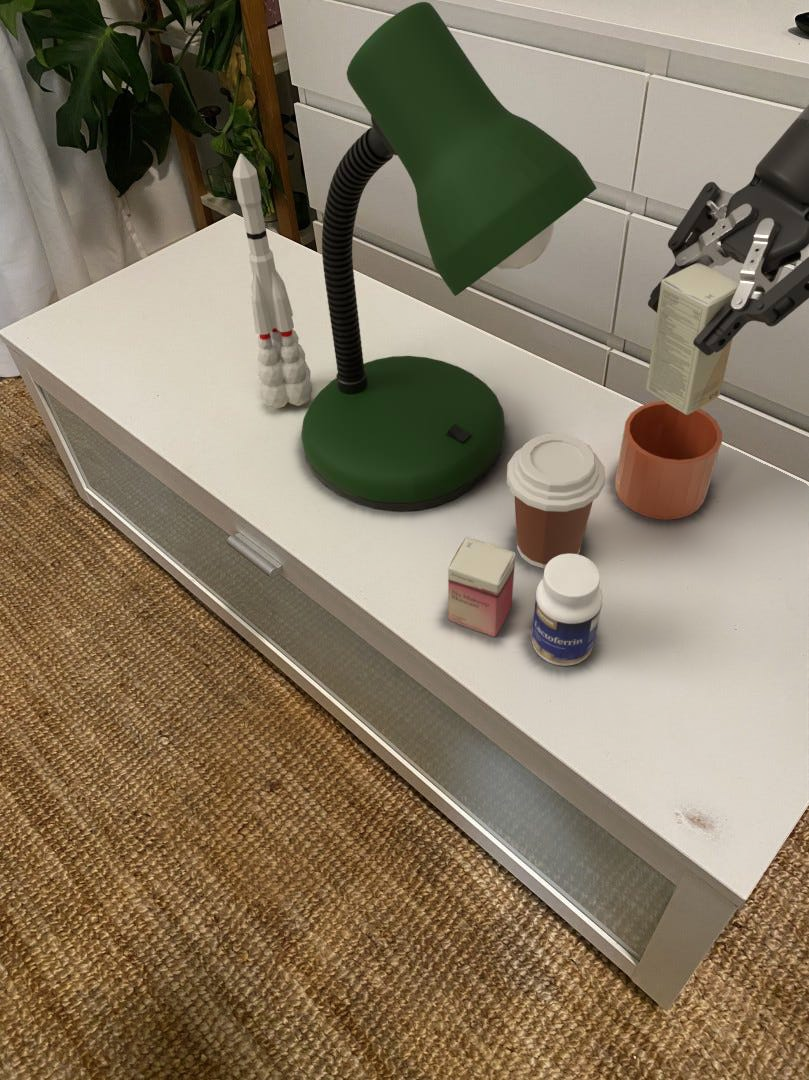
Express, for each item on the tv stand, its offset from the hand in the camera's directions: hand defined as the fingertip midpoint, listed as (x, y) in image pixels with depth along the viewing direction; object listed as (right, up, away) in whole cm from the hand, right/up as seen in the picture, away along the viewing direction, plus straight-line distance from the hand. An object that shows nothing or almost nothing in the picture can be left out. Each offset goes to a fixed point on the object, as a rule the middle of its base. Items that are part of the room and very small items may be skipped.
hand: (677, 329), depth 70 cm
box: (+2, -4, +6) cm, 8 cm away
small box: (-15, -24, +12) cm, 31 cm away
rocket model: (-37, 0, +35) cm, 51 cm away
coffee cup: (-8, -18, +17) cm, 26 cm away
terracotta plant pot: (+5, -12, +21) cm, 25 cm away
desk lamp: (-19, -8, +27) cm, 34 cm away
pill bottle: (-8, -27, +9) cm, 29 cm away
